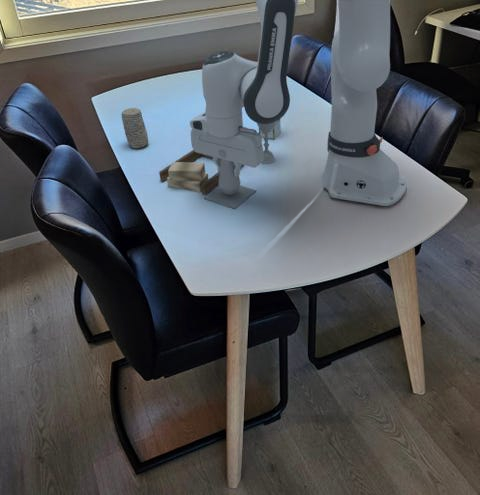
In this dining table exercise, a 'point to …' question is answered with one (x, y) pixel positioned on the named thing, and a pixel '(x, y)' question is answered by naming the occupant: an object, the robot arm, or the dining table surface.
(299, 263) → the dining table surface
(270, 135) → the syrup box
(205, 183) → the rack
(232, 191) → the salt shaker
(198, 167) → the offcut upper
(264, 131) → the chalice
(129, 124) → the carving
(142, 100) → the dining table surface
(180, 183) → the offcut lower
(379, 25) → the robot arm
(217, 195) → the slate mat
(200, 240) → the dining table surface
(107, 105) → the dining table surface
